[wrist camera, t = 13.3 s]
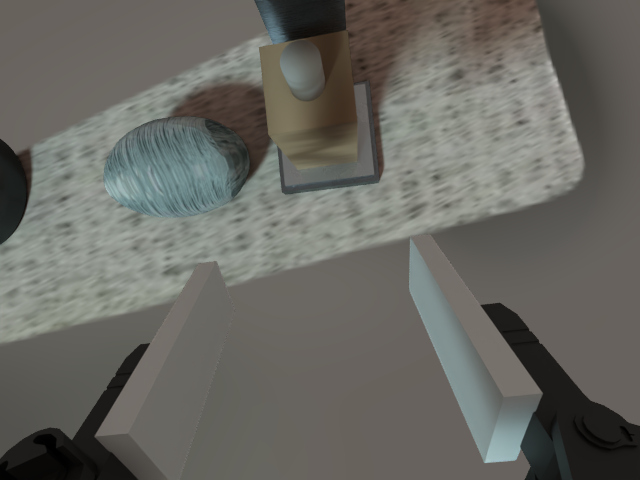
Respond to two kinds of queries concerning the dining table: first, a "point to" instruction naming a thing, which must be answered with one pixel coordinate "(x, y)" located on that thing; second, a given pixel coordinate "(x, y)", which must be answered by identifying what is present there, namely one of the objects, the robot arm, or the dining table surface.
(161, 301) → the dining table surface
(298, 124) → the brown bottle
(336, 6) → the press
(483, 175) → the dining table surface
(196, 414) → the robot arm
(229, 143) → the blue grey streaked ovoid
